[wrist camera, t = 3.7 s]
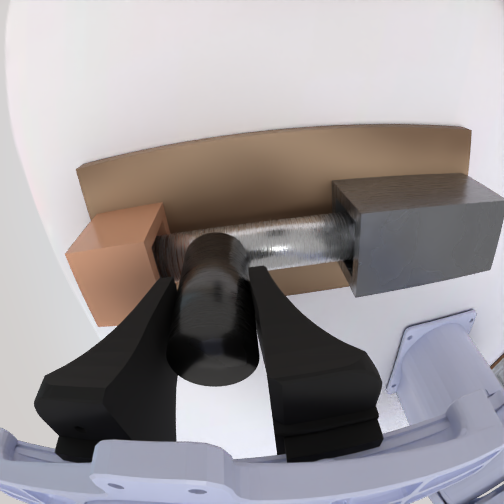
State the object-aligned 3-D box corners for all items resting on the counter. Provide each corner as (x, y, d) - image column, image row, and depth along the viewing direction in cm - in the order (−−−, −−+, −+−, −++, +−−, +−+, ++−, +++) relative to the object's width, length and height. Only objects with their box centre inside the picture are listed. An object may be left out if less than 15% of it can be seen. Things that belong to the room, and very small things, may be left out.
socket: (180, 271, 19) (169, 321, 15) (119, 278, 19) (98, 326, 15) (162, 201, 17) (143, 241, 13) (96, 213, 17) (64, 254, 13)
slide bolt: (379, 244, 18) (449, 342, 11) (152, 273, 18) (118, 390, 11) (383, 195, 16) (470, 281, 9) (137, 225, 16) (84, 334, 9)
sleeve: (453, 234, 19) (490, 269, 15) (331, 251, 19) (355, 297, 15) (462, 172, 17) (507, 200, 13) (331, 180, 17) (361, 213, 13)
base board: (444, 260, 21) (451, 267, 20) (129, 304, 21) (126, 313, 20) (462, 126, 16) (471, 130, 15) (83, 164, 16) (75, 169, 15)
